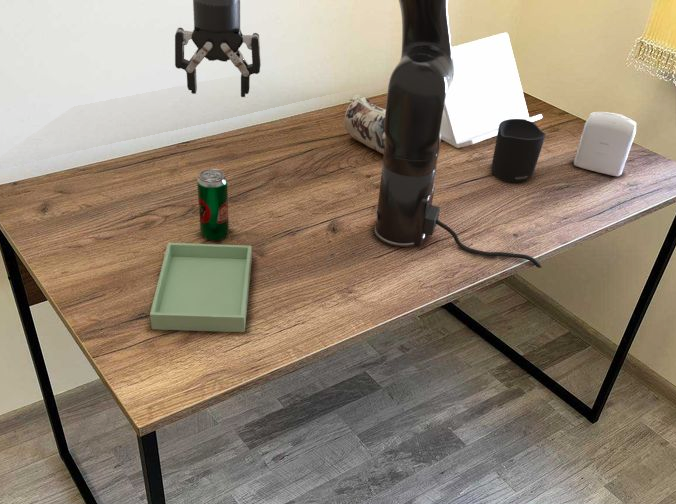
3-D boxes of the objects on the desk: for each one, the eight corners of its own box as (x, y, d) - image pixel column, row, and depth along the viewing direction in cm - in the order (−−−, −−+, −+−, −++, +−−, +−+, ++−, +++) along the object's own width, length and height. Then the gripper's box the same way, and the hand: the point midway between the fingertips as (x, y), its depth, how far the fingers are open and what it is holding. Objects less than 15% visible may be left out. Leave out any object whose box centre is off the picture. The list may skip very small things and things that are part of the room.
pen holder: (484, 178, 154) (494, 133, 148) (494, 158, 161) (504, 115, 154) (529, 188, 152) (541, 143, 145) (537, 168, 159) (549, 124, 152)
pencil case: (436, 165, 157) (444, 122, 151) (409, 177, 153) (416, 133, 146) (364, 128, 169) (368, 86, 162) (337, 138, 164) (340, 95, 158)
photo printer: (570, 166, 160) (587, 112, 152) (575, 158, 163) (591, 104, 155) (619, 179, 157) (638, 124, 149) (622, 171, 160) (642, 116, 152)
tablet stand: (411, 123, 172) (422, 48, 160) (483, 98, 184) (498, 28, 173) (469, 154, 162) (485, 77, 150) (541, 126, 174) (561, 53, 163)
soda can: (224, 244, 132) (221, 184, 123) (196, 240, 132) (192, 179, 124) (232, 229, 135) (230, 169, 127) (205, 225, 136) (202, 165, 128)
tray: (169, 257, 128) (167, 242, 126) (251, 260, 128) (251, 245, 126) (151, 329, 114) (149, 314, 112) (244, 332, 114) (244, 317, 112)
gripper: (168, 0, 115) (174, 100, 126) (259, 6, 116) (258, 105, 127) (174, -15, 121) (180, 82, 132) (262, -9, 122) (260, 87, 133)
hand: (218, 93), depth 129 cm, fingers open, 8 cm apart
